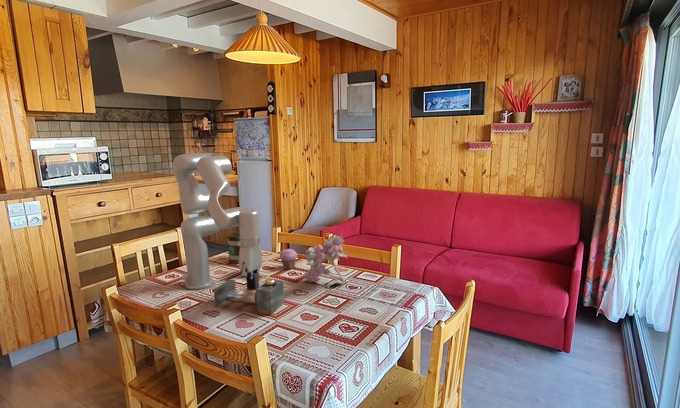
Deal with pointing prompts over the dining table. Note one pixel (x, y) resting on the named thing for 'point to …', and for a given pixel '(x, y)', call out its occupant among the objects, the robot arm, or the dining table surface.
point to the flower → (317, 258)
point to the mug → (233, 247)
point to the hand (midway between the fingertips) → (253, 286)
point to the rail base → (265, 304)
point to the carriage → (251, 290)
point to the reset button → (269, 282)
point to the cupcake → (288, 258)
